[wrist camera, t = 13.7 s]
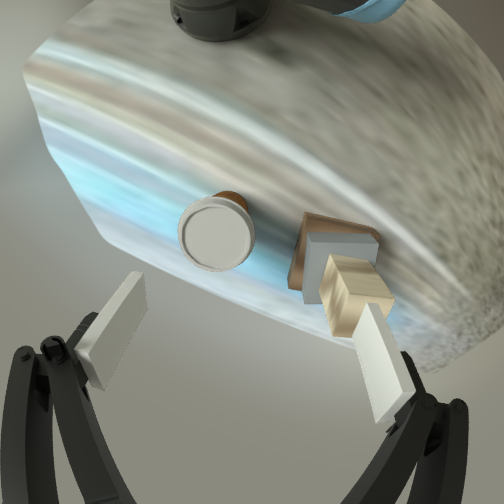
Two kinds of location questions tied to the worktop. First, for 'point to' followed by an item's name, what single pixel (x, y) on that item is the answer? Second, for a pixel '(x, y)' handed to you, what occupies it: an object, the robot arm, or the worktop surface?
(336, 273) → the birch block
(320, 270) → the top slab
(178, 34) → the worktop surface
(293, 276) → the base slab
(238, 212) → the disposable coffee cup
